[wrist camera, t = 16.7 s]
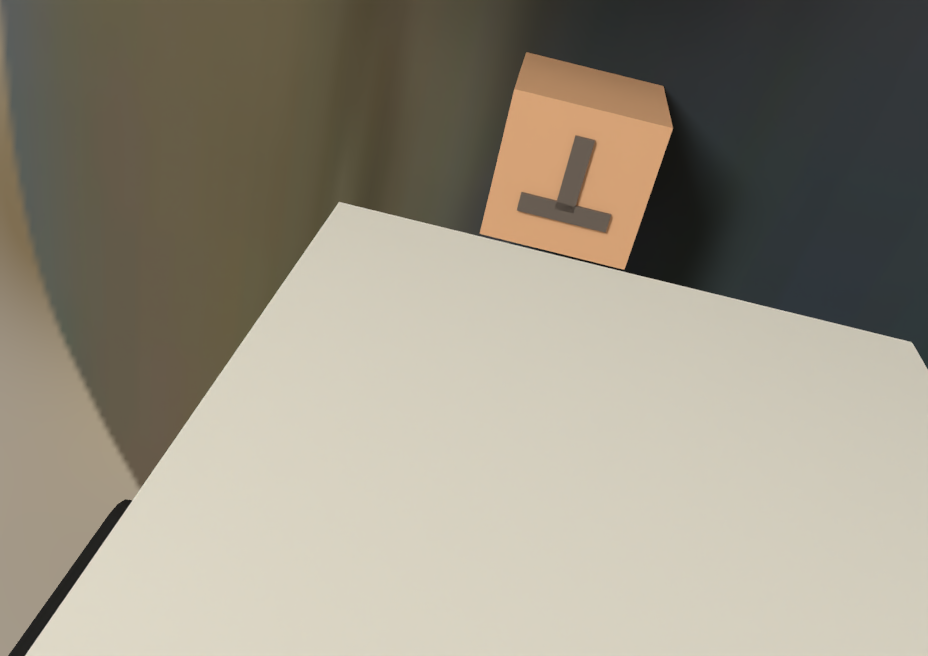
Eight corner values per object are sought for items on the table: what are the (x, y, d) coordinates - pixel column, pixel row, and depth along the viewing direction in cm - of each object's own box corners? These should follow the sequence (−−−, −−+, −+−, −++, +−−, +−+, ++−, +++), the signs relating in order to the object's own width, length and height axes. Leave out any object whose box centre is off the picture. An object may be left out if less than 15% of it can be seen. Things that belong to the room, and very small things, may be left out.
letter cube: (663, 85, 25) (673, 129, 21) (621, 212, 27) (624, 271, 23) (526, 51, 25) (513, 89, 21) (495, 180, 27) (479, 235, 23)
